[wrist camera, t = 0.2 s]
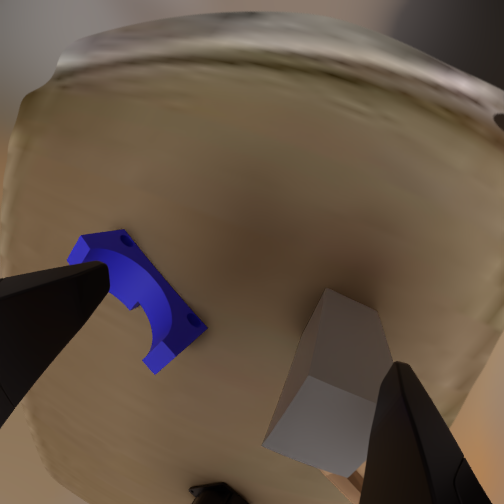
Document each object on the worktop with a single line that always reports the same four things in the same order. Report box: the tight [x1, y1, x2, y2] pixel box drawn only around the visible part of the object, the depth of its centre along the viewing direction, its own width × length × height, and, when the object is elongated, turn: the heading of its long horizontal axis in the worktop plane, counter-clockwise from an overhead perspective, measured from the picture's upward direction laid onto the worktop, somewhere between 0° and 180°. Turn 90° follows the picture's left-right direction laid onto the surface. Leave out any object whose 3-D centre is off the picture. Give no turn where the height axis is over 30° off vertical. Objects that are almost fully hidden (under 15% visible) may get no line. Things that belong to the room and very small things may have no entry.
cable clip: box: [67, 229, 207, 374], centre depth 25 cm, size 12×4×6 cm, turn 45°
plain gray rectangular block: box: [262, 288, 393, 478], centre depth 17 cm, size 4×4×13 cm
